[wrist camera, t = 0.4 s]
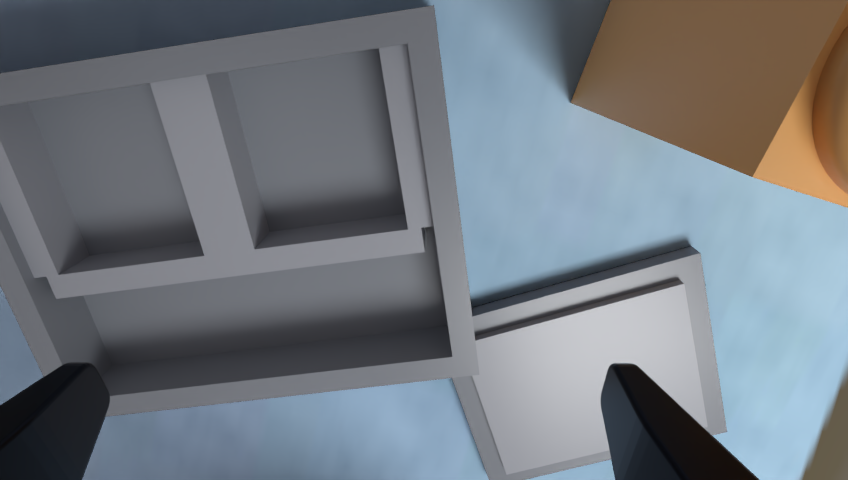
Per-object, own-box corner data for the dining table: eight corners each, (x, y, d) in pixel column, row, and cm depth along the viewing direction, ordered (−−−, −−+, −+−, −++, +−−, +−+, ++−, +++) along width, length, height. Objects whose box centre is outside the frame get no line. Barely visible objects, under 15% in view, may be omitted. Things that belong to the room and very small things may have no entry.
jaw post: (672, 135, 21) (1019, 264, 9) (570, 102, 21) (781, 189, 8) (726, 21, 20) (1244, -20, 7) (617, -17, 19) (964, -131, 7)
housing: (473, 330, 24) (479, 374, 21) (112, 372, 26) (65, 421, 22) (433, 12, 20) (433, 5, 16) (-12, 81, 21) (-95, 88, 17)
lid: (718, 420, 26) (731, 437, 25) (490, 475, 28) (492, 493, 26) (691, 246, 23) (704, 256, 22) (433, 318, 24) (433, 332, 23)
